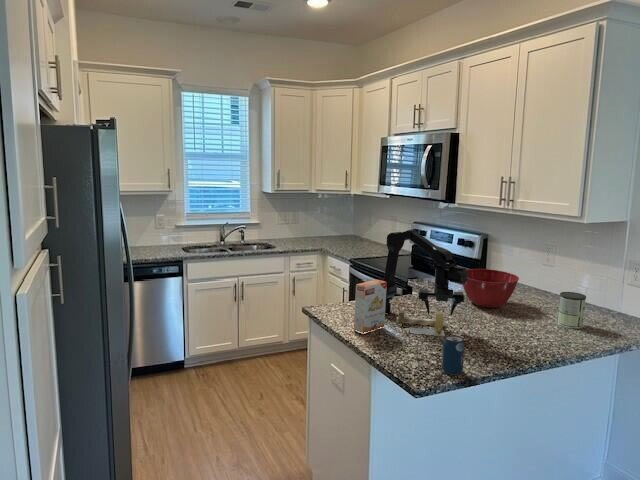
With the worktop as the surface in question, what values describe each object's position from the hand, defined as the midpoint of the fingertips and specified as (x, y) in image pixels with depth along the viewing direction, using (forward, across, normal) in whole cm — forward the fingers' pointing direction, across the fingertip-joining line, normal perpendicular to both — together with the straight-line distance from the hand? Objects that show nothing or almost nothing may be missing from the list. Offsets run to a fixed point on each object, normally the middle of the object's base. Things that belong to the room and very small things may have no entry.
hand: (439, 315), depth 200 cm
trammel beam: (+6, -8, +1) cm, 10 cm away
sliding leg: (+6, 0, 0) cm, 6 cm away
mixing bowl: (+7, +27, +46) cm, 53 cm away
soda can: (+7, +2, -42) cm, 43 cm away
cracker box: (+7, -29, -8) cm, 31 cm away
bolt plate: (+6, -8, -5) cm, 12 cm away
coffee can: (+7, +59, +21) cm, 63 cm away
